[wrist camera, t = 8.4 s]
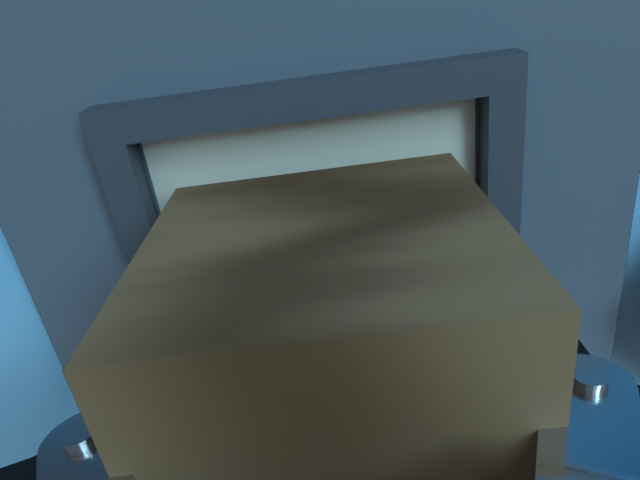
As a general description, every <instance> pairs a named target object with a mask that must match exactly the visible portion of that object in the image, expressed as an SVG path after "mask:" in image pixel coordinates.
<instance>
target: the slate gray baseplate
mask: <svg viewBox="0 0 640 480" xmlns="http://www.w3.org/2000/svg"><path fill="white" fill-rule="evenodd" d="M445 153H451V154H452V155H453V157H454V158H455V159H456V160H457V161H458V163H459V164H460V165H461V166H462V167H463V169H464V170H465V171H466V172H467V173H468V174H469V176H470V177H471V178H472V179H473V180H474V182H475V183H476V184H477V185H478V186H479V188H480V189H481V190H482V191H483V192H484V194H485V195H486V196H487V197H488V198H489V200H490V201H491V202H492V203H493V204H494V206H495V207H496V208H497V209H498V210H499V212H500V213H501V214H502V215H503V216H504V217H505V219H506V220H507V221H508V222H509V223H510V225H511V226H512V227H513V228H514V229H515V231H516V232H517V233H518V234H519V235H520V237H521V238H522V239H523V240H524V241H525V243H526V244H527V245H528V246H529V247H530V249H531V250H532V251H533V252H534V253H535V255H536V256H537V257H538V258H539V259H540V260H541V262H542V263H543V264H544V265H545V266H546V268H547V269H548V270H549V271H550V272H551V274H552V275H553V276H554V277H555V278H556V280H557V281H558V282H559V283H560V284H561V286H562V287H563V288H564V289H565V290H566V292H567V293H568V294H569V295H570V296H571V298H572V299H573V300H574V301H575V302H576V303H577V305H578V306H579V307H580V308H581V309H582V313H581V322H580V331H579V340H580V342H581V343H582V344H583V346H584V347H585V348H586V349H587V351H588V352H589V353H590V355H593V356H597V357H601V358H604V359H607V360H609V361H611V359H612V353H613V346H614V339H615V333H616V326H617V319H618V313H619V306H620V300H621V293H622V286H623V280H624V273H625V266H626V260H627V253H628V246H629V240H630V233H631V226H632V220H633V213H634V206H635V200H636V193H637V186H638V180H639V173H640V0H0V226H1V228H2V231H3V233H4V235H5V238H6V240H7V242H8V244H9V247H10V249H11V251H12V253H13V256H14V258H15V260H16V263H17V265H18V267H19V269H20V272H21V274H22V276H23V278H24V281H25V283H26V285H27V288H28V290H29V292H30V294H31V297H32V299H33V301H34V303H35V306H36V308H37V310H38V313H39V315H40V317H41V319H42V322H43V324H44V326H45V328H46V331H47V333H48V335H49V338H50V340H51V342H52V344H53V347H54V349H55V351H56V353H57V356H58V358H59V360H60V363H61V365H62V367H63V369H64V368H65V366H66V365H67V363H68V361H69V360H70V358H71V357H72V355H73V353H74V352H75V350H76V349H77V347H78V345H79V344H80V342H81V341H82V339H83V337H84V336H85V334H86V332H87V331H88V329H89V328H90V326H91V324H92V323H93V321H94V320H95V318H96V316H97V315H98V313H99V312H100V310H101V308H102V307H103V305H104V304H105V302H106V300H107V299H108V297H109V295H110V294H111V292H112V291H113V289H114V287H115V286H116V284H117V283H118V281H119V279H120V278H121V276H122V275H123V273H124V271H125V270H126V268H127V267H128V265H129V263H130V262H131V260H132V258H133V257H134V255H135V254H136V252H137V250H138V249H139V247H140V246H141V244H142V242H143V241H144V239H145V238H146V236H147V234H148V233H149V231H150V230H151V228H152V226H153V225H154V223H155V221H156V220H157V218H158V217H159V215H160V213H161V212H162V210H163V209H164V207H165V205H166V204H167V202H168V201H169V199H170V197H171V196H172V194H173V192H174V191H175V189H176V188H182V187H190V186H198V185H205V184H213V183H221V182H228V181H236V180H244V179H252V178H259V177H267V176H275V175H283V174H290V173H298V172H306V171H313V170H321V169H329V168H337V167H344V166H352V165H360V164H368V163H375V162H383V161H391V160H398V159H406V158H414V157H422V156H429V155H437V154H445Z"/></svg>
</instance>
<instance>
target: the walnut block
mask: <svg viewBox="0 0 640 480" xmlns="http://www.w3.org/2000/svg"><path fill="white" fill-rule="evenodd" d="M581 313H582V309H581V308H580V307H579V306H578V305H577V303H576V302H575V301H574V300H573V299H572V298H571V296H570V295H569V294H568V293H567V292H566V290H565V289H564V288H563V287H562V286H561V284H560V283H559V282H558V281H557V280H556V278H555V277H554V276H553V275H552V274H551V272H550V271H549V270H548V269H547V268H546V266H545V265H544V264H543V263H542V262H541V260H540V259H539V258H538V257H537V256H536V255H535V253H534V252H533V251H532V250H531V249H530V247H529V246H528V245H527V244H526V243H525V241H524V240H523V239H522V238H521V237H520V235H519V234H518V233H517V232H516V231H515V229H514V228H513V227H512V226H511V225H510V223H509V222H508V221H507V220H506V219H505V217H504V216H503V215H502V214H501V213H500V212H499V210H498V209H497V208H496V207H495V206H494V204H493V203H492V202H491V201H490V200H489V198H488V197H487V196H486V195H485V194H484V192H483V191H482V190H481V189H480V188H479V186H478V185H477V184H476V183H475V182H474V180H473V179H472V178H471V177H470V176H469V174H468V173H467V172H466V171H465V170H464V169H463V167H462V166H461V165H460V164H459V163H458V161H457V160H456V159H455V158H454V157H453V155H452V154H451V153H445V154H437V155H429V156H422V157H414V158H406V159H398V160H391V161H383V162H375V163H368V164H360V165H352V166H344V167H337V168H329V169H321V170H313V171H306V172H298V173H290V174H283V175H275V176H267V177H259V178H252V179H244V180H236V181H228V182H221V183H213V184H205V185H198V186H190V187H182V188H176V189H175V191H174V192H173V194H172V196H171V197H170V199H169V201H168V202H167V204H166V205H165V207H164V209H163V210H162V212H161V213H160V215H159V217H158V218H157V220H156V221H155V223H154V225H153V226H152V228H151V230H150V231H149V233H148V234H147V236H146V238H145V239H144V241H143V242H142V244H141V246H140V247H139V249H138V250H137V252H136V254H135V255H134V257H133V258H132V260H131V262H130V263H129V265H128V267H127V268H126V270H125V271H124V273H123V275H122V276H121V278H120V279H119V281H118V283H117V284H116V286H115V287H114V289H113V291H112V292H111V294H110V295H109V297H108V299H107V300H106V302H105V304H104V305H103V307H102V308H101V310H100V312H99V313H98V315H97V316H96V318H95V320H94V321H93V323H92V324H91V326H90V328H89V329H88V331H87V332H86V334H85V336H84V337H83V339H82V341H81V342H80V344H79V345H78V347H77V349H76V350H75V352H74V353H73V355H72V357H71V358H70V360H69V361H68V363H67V365H66V366H65V368H64V370H63V371H62V372H63V374H64V376H65V378H66V381H67V383H68V385H69V387H70V390H71V392H72V394H73V396H74V399H75V401H76V403H77V406H78V408H79V410H80V412H81V415H82V417H83V419H84V421H85V424H86V426H87V428H88V430H89V433H90V435H91V437H92V439H93V442H94V444H95V446H96V449H97V451H98V453H99V455H100V458H101V460H102V462H103V464H104V467H105V469H106V471H107V473H108V476H109V477H117V476H126V475H134V477H135V479H136V480H535V468H536V455H537V442H538V430H540V429H549V428H558V427H567V426H569V418H570V409H571V401H572V392H573V383H574V374H575V366H576V357H577V348H578V339H579V331H580V322H581Z"/></svg>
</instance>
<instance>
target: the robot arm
mask: <svg viewBox="0 0 640 480" xmlns="http://www.w3.org/2000/svg"><path fill="white" fill-rule="evenodd" d="M0 480H136V479H135V477H134V475H126V476H117V477H109V476H108V473H107V471H106V469H105V467H104V464H103V462H102V460H101V458H100V455H99V453H98V451H97V449H96V446H95V444H94V442H93V439H92V437H91V435H90V433H89V430H88V428H87V426H86V424H85V421H84V419H83V417H82V415H81V413H79V414H77V415H75V416H73V417H71V418H69V419H67V420H65V421H64V422H62V423H61V424H59V425H58V426H57V427H56V428H54V429H53V430H52V431H51V432H50V433H49V434H48V435H47V436H46V438H45V439H44V440H43V442H42V443H41V445H40V447H39V449H38V452H37V455H36V456H34V457H31V458H29V459H26V460H23V461H20V462H17V463H15V464H12V465H9V466H6V467H3V468H1V469H0ZM535 480H640V385H637V383H636V381H635V380H634V378H633V377H632V376H631V375H630V374H629V373H628V372H627V371H626V370H625V369H623V368H622V367H620V366H619V365H617V364H615V363H613V362H612V361H609V360H607V359H604V358H601V357H597V356H593V355H590V353H589V352H588V351H587V349H586V348H585V347H584V346H583V344H582V343H581V342H580V340H579V339H578V348H577V357H576V366H575V374H574V383H573V392H572V401H571V409H570V418H569V426H567V427H558V428H549V429H540V430H538V442H537V455H536V468H535Z"/></svg>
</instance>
